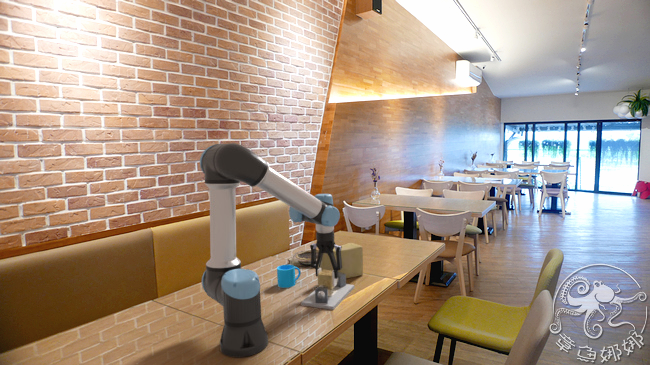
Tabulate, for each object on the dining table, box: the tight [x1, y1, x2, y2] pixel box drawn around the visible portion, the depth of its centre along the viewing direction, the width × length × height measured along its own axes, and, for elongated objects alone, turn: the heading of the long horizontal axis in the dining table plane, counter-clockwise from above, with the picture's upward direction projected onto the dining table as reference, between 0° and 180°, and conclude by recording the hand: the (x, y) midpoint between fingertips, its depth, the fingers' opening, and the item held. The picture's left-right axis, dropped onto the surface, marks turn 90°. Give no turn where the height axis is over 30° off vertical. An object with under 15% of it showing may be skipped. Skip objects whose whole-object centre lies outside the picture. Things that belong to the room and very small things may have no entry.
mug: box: [276, 264, 302, 289], centre depth 174 cm, size 12×8×8 cm
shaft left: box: [314, 285, 328, 303], centre depth 151 cm, size 7×5×5 cm
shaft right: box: [336, 272, 347, 288], centre depth 165 cm, size 7×5×5 cm
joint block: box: [317, 270, 337, 290], centre depth 159 cm, size 6×6×6 cm
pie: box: [288, 249, 319, 267], centre depth 206 cm, size 28×27×5 cm
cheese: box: [319, 242, 364, 279], centre depth 178 cm, size 22×10×15 cm, turn 127°
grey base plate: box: [300, 283, 355, 311], centre depth 158 cm, size 24×14×1 cm, turn 156°
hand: (327, 284), depth 159 cm, fingers closed on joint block, 6 cm apart
